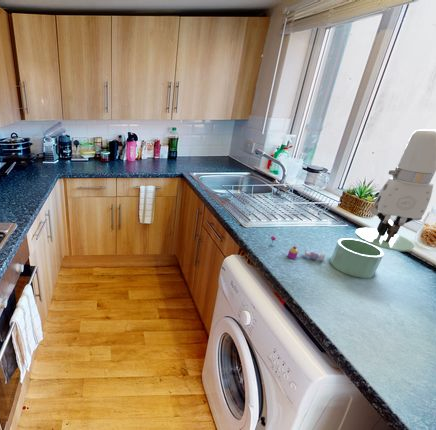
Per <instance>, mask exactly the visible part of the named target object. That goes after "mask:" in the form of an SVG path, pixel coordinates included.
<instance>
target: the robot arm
mask: <svg viewBox="0 0 436 430" xmlns="http://www.w3.org/2000/svg"><path fill="white" fill-rule="evenodd" d="M435 174H436V129H429V128H427V129H426V128H422V129H416V130H414V131H413V132H412V134H411V135H410V137H409V139H408V141H407V144H406V146H405V148H404V151H403V152H402V154H401V158H400V160H399V162H398V164H397V167H395V169H390V170H389V171H388V175H389V176H392V177H389V178H388V179H387V181H386V182H385V183H384V185H383V186H382V188H381V190H380V191H379V193H378V195H377V197H376V199H375V201H374V204H373V206H372V207H371V208H370V209H369V210H368V212H369V213H370V214H372V215H374V216H376V217H377V218H378V219H379V220H380V221H379V224H378V225H377V227H376V229H377V231H378V233H379V234H380V235H381V236H385V234H386V233H387V234H389V232H390V230H389V229H388V227H389V224H388V222H389V219H390V220H391V217H392V216H394V217H395V218H394V220H391V221H392V222H394V223H395V224H396V225H397V226H398V227H399V228H398V230H397V232H395V231H394V233H393V235H392V237H394V236H395V234H397V235H398V232H399V230H400V228H401V227H403V226H405V224H407V223H409V222H414V221H421V220H422V218H423V216H424V215H425V214H426V211H427V209H428V206H429V203H430V200H431V198H432V194H433V190H434V184H433V183H431V181H432V180H433V178H434V176H435ZM386 231H387V232H386Z"/></svg>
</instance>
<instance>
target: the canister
mask: <svg viewBox="0 0 436 430" xmlns="http://www.w3.org/2000/svg"><path fill="white" fill-rule="evenodd" d="M384 254H385V252H384V251H383V250H382V248H380V247H377V246H374V245H372V244H369V243H367V242H365V241H363V240H361V239H357V238H346V237H345V238H344V237H343V238H340V239H338V240H337V242H336V245H335V247H334V250H333V252H332V255H331V257H330V260H329V262H330V264H331V266H332V267H333V268H335V269H336V270H337V271H339V272H341V273H344V274H345V275H348V276H352V277H355V278H361V279H371V278H372V277H374V276H375V273H376V271H377V270H378V267H379V266H380V263H381V261H382V259H383V257H384Z"/></svg>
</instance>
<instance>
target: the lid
mask: <svg viewBox="0 0 436 430" xmlns="http://www.w3.org/2000/svg"><path fill="white" fill-rule="evenodd" d="M392 221H393V220H392V219H391V218H390V219H389V222H388V224H389V227H388V229H389V230H390V232H389V234H387V233H386V234H385V236H381V235H380V234H379V233H378V231H377V228H374V227H359V228H357V229H356V230H355V232H354V234H355V236H356V237H357V238H358V239H359V240H361V241H364V242H367V243H369V244H372V245H374V246H376V247H378V248H380V249H385V250H388V251H393V252H394V251H395V252H410V251H413V249H414V248H415V244H414V243H413V242H412V241H411V240H409V239H408V238H406V237H404V236H403V235H402V236H401V235H399V234H398V232H397V230H398V228H399V227H398V226H397V225H396V224H395V223H394V221H393V222H392ZM388 229H387V230H388ZM399 229H400V228H399ZM394 231H395V232H397V234H395V236H394V237H392V235H393V233H394ZM398 231H399V230H398ZM386 232H387V231H386Z"/></svg>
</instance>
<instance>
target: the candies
mask: <svg viewBox="0 0 436 430" xmlns="http://www.w3.org/2000/svg"><path fill="white" fill-rule="evenodd" d="M276 239H277V237H276V236H275V235H272V236H271V237H270V240H271V243H270V246H271V247H272V246H273V242H274V241H276ZM297 248H298V247H297V246H296V243H295V242H294V245H293V246H292V247H291V248H290V249H289V250H288V253H287V257H288V258H289V259H291V260H294V259H297V257H298V253H299V250H298V249H297ZM303 257H304V258H308V257H309V258H310V259H311V260H317V259H318V260H320V261H322V262H324V260H325V254H324V253H322V254H319V253H318V252H317V251H311V252H310V251H308V250H307V249H306V250H304V255H303Z"/></svg>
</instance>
